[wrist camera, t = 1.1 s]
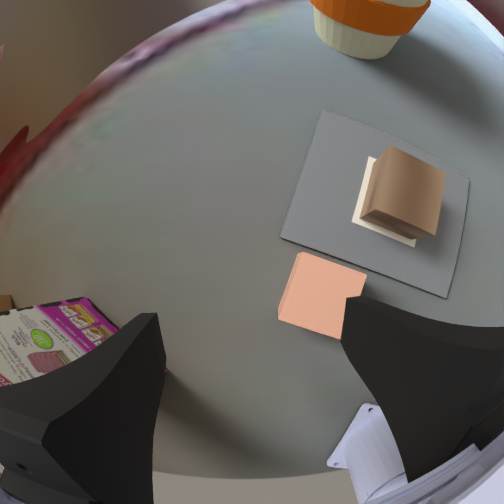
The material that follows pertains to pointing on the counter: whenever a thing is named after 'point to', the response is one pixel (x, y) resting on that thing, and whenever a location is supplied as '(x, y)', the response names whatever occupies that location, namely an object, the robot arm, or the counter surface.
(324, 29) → the reusable coffee cup
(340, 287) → the terracotta block
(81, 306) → the candy bar box
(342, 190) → the mat
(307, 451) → the counter surface
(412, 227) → the walnut block
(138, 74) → the counter surface
